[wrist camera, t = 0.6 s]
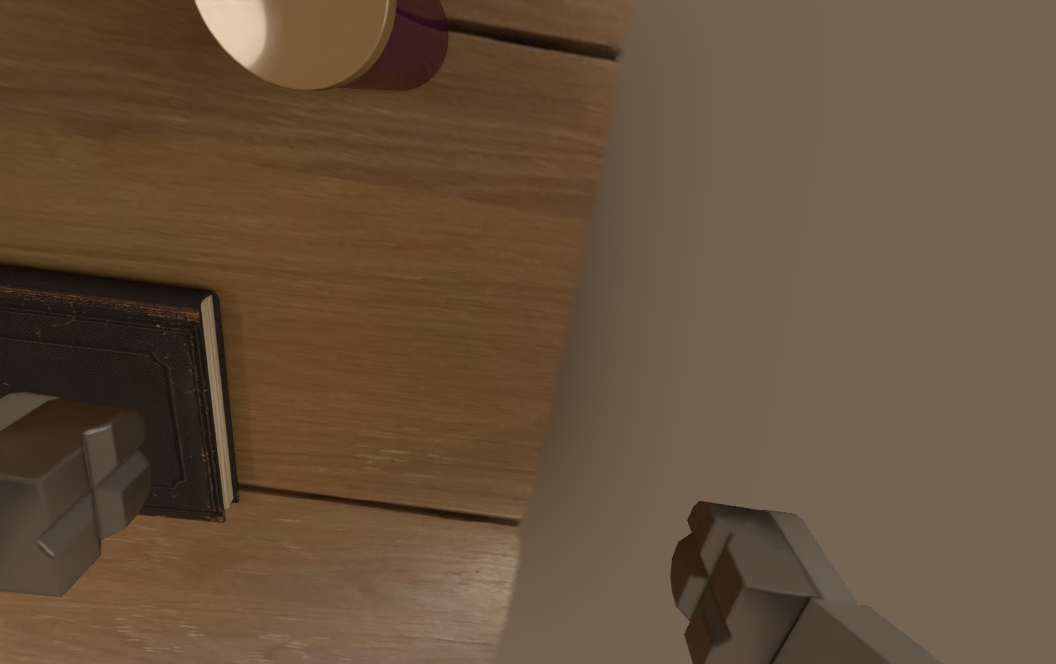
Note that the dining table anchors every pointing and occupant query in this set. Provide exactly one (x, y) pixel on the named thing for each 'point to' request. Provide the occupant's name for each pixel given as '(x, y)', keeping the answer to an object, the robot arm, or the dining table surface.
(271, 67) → the canister
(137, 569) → the dining table surface
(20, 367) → the hardcover book
